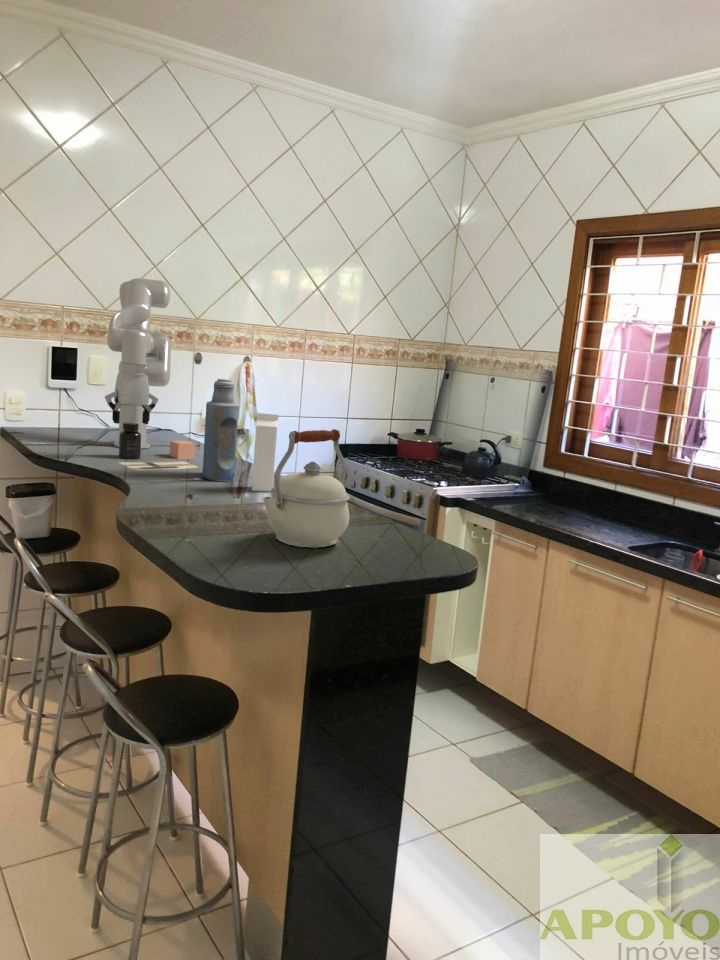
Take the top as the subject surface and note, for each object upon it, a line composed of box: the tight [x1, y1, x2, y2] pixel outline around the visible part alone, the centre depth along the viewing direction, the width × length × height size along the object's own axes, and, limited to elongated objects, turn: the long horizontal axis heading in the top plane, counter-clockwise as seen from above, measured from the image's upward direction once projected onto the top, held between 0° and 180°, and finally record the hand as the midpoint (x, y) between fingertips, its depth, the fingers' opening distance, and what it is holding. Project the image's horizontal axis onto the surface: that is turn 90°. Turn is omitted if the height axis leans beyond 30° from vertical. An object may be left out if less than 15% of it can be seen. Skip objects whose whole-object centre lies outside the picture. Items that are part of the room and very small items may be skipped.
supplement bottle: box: [118, 423, 142, 461], centre depth 247 cm, size 7×7×12 cm
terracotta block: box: [169, 440, 196, 460], centre depth 258 cm, size 6×6×6 cm
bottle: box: [201, 378, 240, 482], centre depth 230 cm, size 10×10×30 cm
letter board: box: [117, 459, 201, 472], centre depth 240 cm, size 14×22×1 cm, turn 130°
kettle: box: [262, 428, 351, 543], centre depth 168 cm, size 25×18×25 cm
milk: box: [251, 412, 279, 492], centre depth 221 cm, size 6×6×22 cm
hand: (130, 423), depth 245 cm, fingers open, 9 cm apart
